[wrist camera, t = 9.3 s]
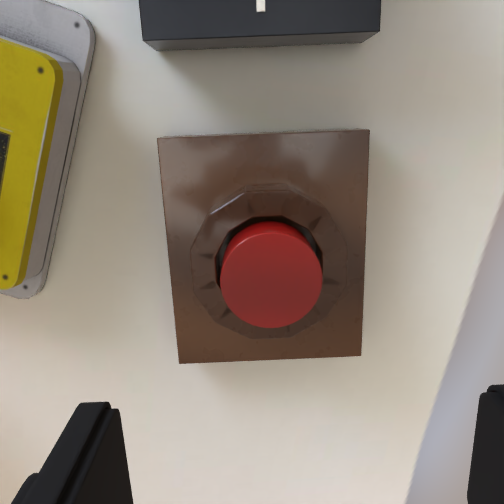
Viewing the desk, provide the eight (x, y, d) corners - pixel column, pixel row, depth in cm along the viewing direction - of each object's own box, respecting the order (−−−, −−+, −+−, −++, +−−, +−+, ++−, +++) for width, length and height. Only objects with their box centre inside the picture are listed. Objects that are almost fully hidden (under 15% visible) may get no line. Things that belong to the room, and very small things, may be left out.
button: (219, 222, 20) (216, 234, 18) (315, 218, 20) (323, 229, 18) (225, 310, 22) (222, 330, 20) (315, 306, 22) (322, 326, 20)
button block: (164, 136, 23) (147, 140, 19) (359, 128, 23) (382, 130, 19) (183, 346, 26) (173, 385, 22) (352, 338, 26) (371, 376, 22)
